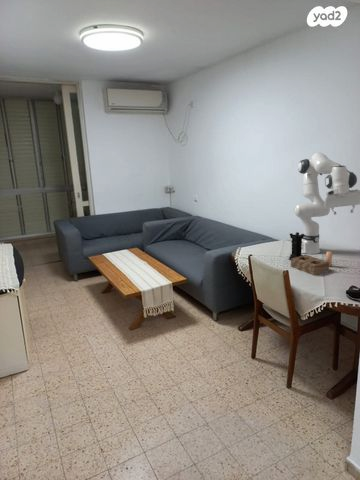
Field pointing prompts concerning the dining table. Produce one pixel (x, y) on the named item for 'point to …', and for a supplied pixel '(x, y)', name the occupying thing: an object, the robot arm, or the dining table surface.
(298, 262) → the bore block
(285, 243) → the dining table surface
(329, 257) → the pin
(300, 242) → the chess piece
